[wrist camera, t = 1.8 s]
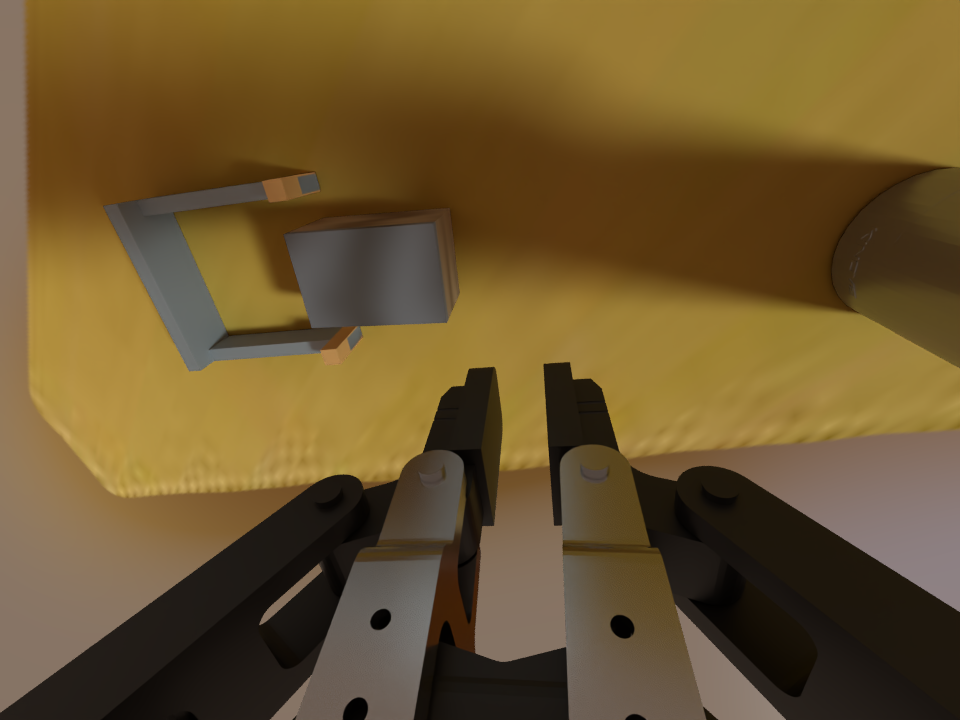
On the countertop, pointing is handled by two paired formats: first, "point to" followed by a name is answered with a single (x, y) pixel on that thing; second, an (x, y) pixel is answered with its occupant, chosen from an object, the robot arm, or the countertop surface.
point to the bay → (183, 289)
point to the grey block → (376, 268)
